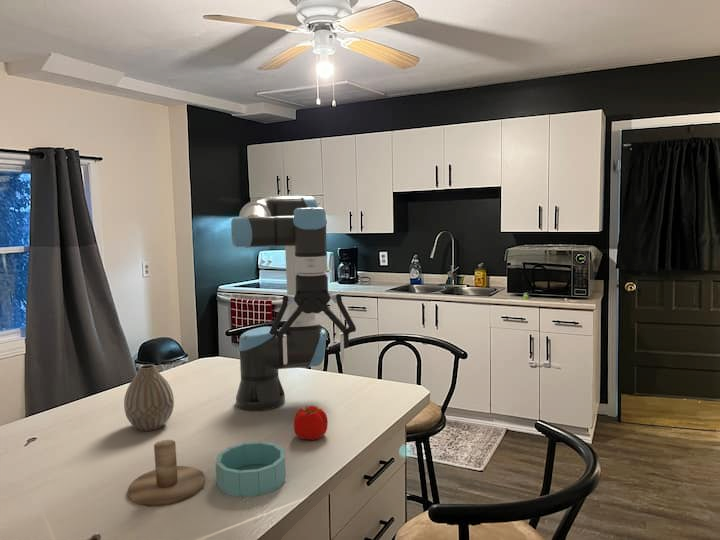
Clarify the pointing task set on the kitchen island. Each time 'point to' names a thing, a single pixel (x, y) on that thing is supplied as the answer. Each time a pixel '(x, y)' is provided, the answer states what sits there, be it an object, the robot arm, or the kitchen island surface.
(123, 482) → the kitchen island surface
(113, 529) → the kitchen island surface
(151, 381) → the vase
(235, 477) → the bowl
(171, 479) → the lid
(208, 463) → the kitchen island surface
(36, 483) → the kitchen island surface
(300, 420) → the tomato
